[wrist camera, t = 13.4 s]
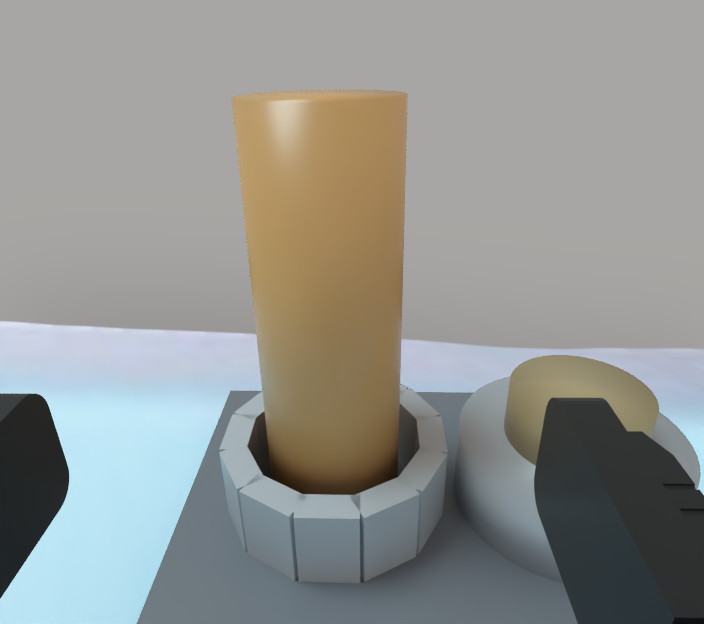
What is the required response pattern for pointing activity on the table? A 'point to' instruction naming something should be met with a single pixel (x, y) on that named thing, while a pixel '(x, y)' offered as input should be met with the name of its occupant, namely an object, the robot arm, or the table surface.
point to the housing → (393, 515)
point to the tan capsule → (326, 279)
